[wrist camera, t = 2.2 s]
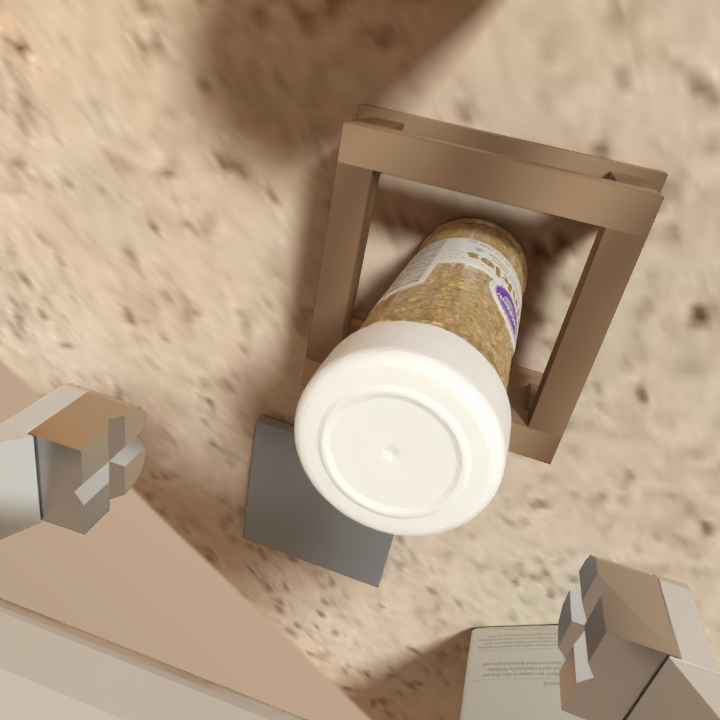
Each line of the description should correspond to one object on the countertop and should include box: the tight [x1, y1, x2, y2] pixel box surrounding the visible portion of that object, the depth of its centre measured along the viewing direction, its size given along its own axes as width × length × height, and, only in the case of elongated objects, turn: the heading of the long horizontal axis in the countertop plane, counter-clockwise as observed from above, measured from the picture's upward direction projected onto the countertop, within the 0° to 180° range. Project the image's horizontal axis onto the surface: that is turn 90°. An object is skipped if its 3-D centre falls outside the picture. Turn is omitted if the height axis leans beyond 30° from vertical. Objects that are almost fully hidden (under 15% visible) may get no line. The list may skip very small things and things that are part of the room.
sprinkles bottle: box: [294, 218, 527, 536], centre depth 18 cm, size 5×5×13 cm
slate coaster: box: [243, 415, 394, 588], centre depth 31 cm, size 8×8×1 cm
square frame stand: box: [302, 104, 668, 464], centre depth 22 cm, size 11×10×4 cm
